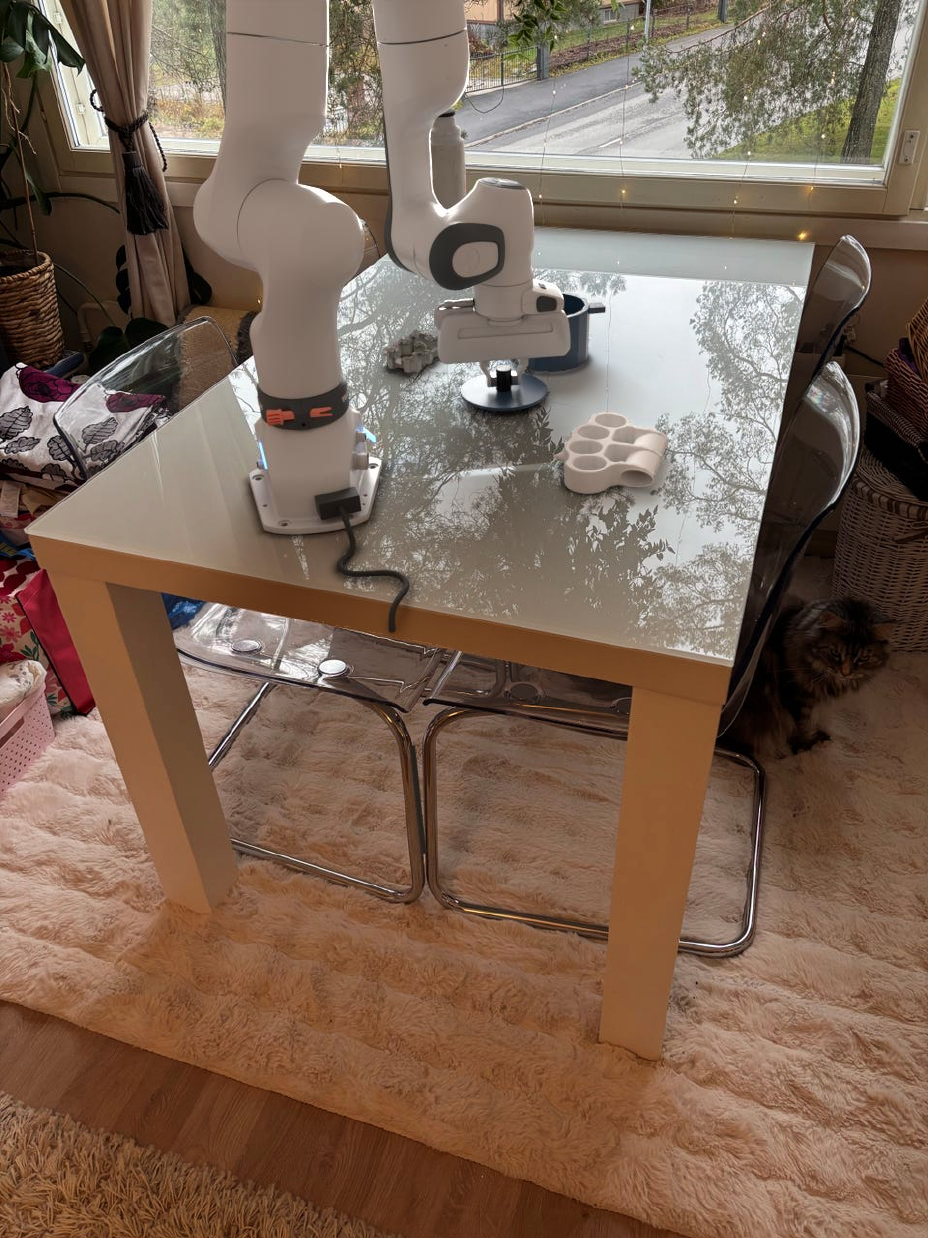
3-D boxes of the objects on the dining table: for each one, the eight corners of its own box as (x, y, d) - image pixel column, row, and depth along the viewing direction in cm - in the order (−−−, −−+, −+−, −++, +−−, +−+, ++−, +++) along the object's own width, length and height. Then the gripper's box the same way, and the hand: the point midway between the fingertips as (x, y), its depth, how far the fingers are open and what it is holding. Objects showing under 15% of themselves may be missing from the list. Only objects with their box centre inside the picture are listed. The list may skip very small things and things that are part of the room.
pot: (610, 369, 155) (613, 313, 149) (504, 379, 154) (503, 323, 148) (593, 340, 165) (595, 287, 159) (492, 349, 164) (491, 296, 158)
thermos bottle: (468, 243, 212) (463, 105, 194) (468, 254, 206) (462, 112, 188) (433, 245, 212) (425, 107, 195) (432, 256, 206) (423, 114, 188)
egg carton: (413, 378, 156) (411, 355, 154) (379, 369, 160) (376, 346, 157) (451, 355, 163) (450, 333, 160) (417, 347, 166) (415, 324, 164)
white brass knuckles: (647, 503, 122) (540, 488, 127) (671, 440, 135) (573, 428, 140) (649, 481, 120) (540, 466, 124) (673, 419, 133) (574, 407, 137)
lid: (554, 410, 142) (555, 382, 139) (465, 417, 141) (465, 389, 138) (538, 375, 153) (539, 347, 150) (456, 381, 152) (455, 354, 149)
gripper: (435, 308, 134) (439, 398, 143) (574, 298, 136) (571, 388, 144) (431, 294, 139) (436, 381, 148) (566, 284, 140) (563, 371, 149)
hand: (503, 384), depth 146 cm, fingers closed on lid, 2 cm apart
